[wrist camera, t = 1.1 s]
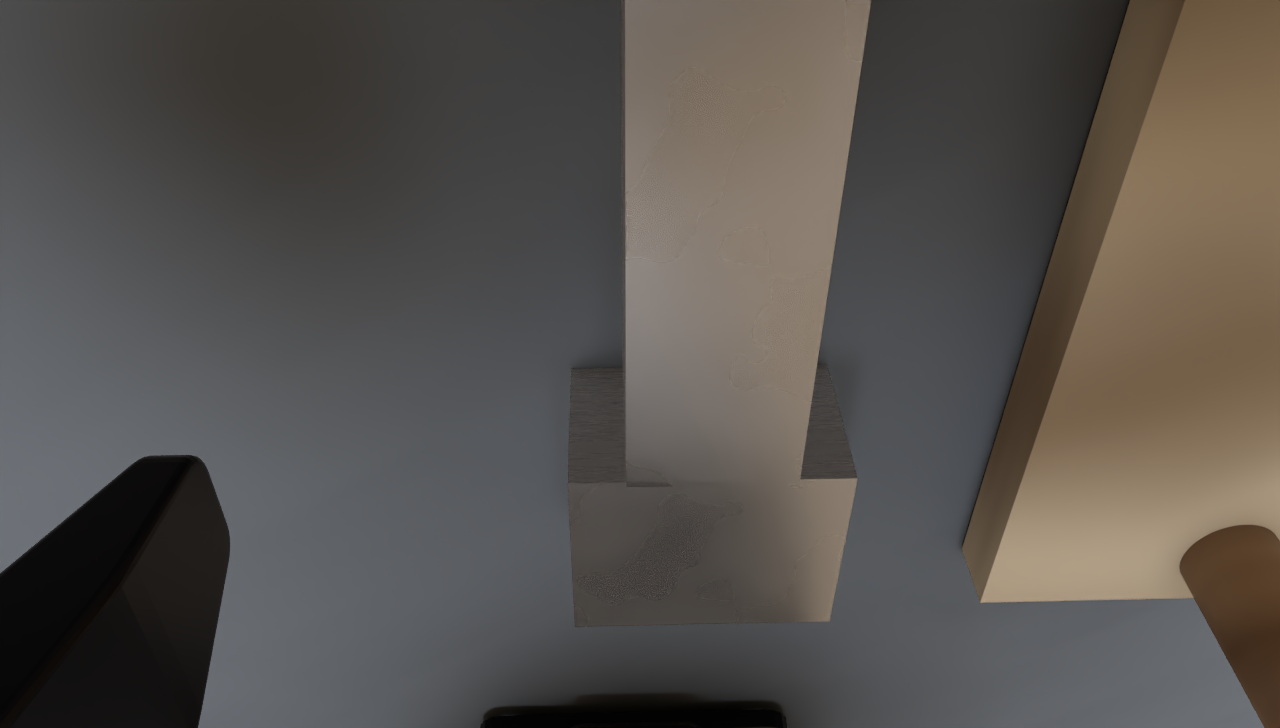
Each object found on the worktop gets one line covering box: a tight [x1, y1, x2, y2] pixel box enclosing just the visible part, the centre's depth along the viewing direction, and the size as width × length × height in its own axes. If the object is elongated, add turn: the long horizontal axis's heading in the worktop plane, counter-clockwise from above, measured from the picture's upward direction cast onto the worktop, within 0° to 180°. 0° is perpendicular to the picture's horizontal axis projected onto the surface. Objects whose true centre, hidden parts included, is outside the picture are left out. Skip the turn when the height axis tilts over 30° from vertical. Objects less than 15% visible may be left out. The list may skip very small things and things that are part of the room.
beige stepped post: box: [567, 0, 871, 627], centre depth 12 cm, size 16×4×2 cm, turn 0°
